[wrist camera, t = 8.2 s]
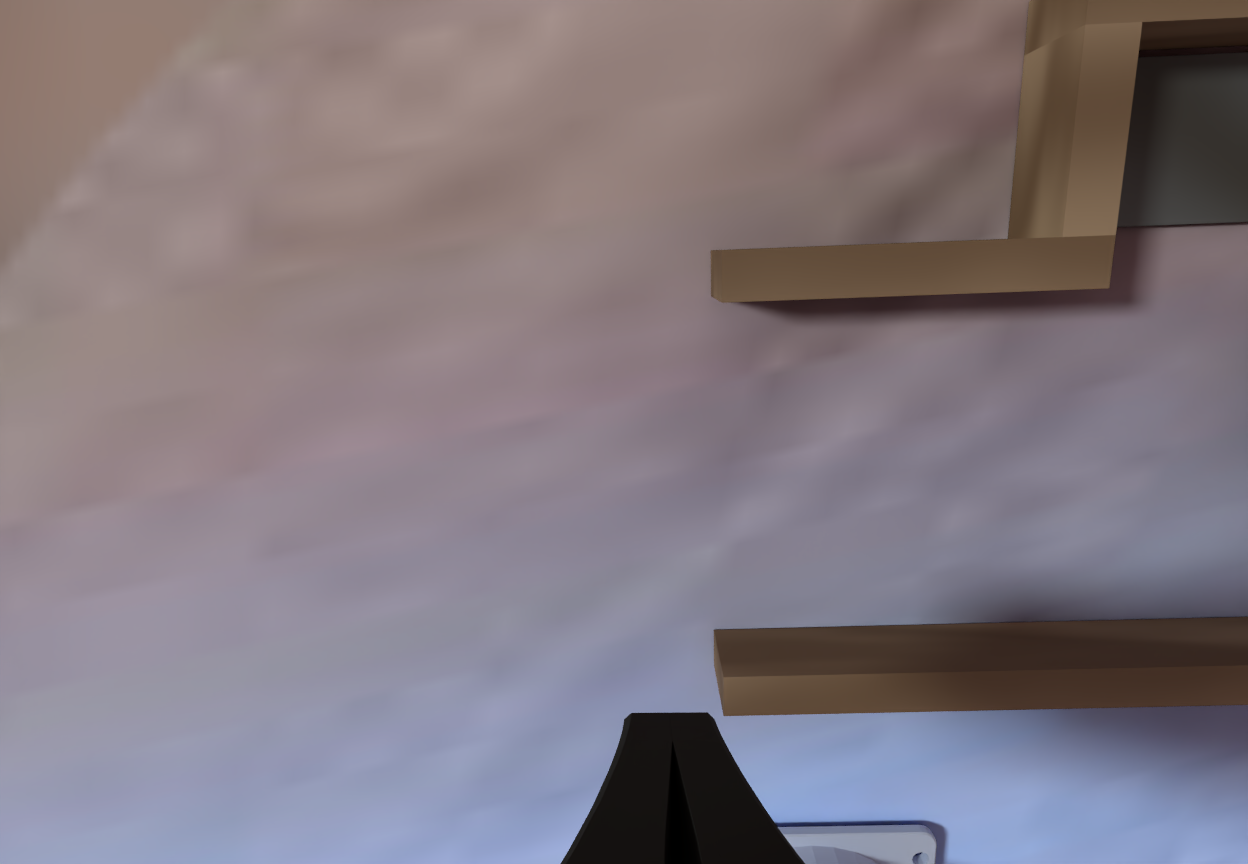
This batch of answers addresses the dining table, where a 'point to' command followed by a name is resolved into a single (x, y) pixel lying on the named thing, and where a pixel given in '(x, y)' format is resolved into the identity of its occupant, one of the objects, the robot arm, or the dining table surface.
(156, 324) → the dining table surface
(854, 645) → the channel
